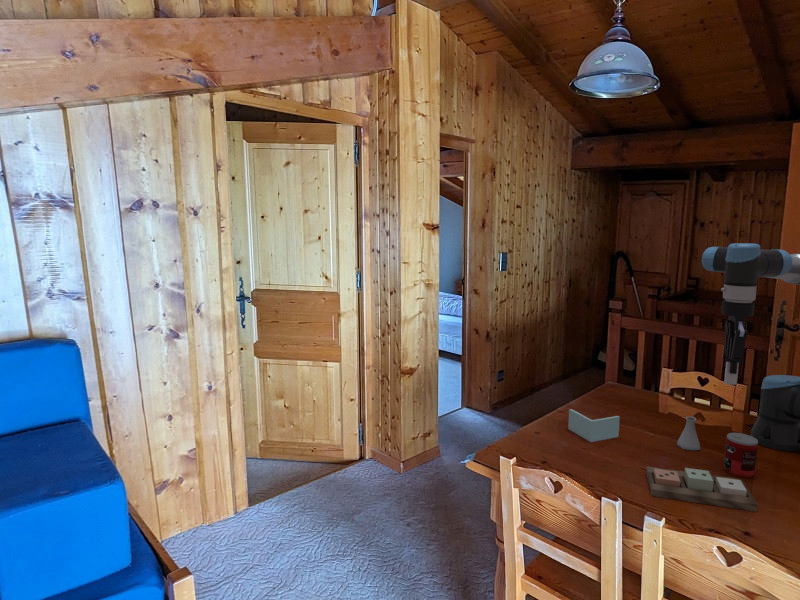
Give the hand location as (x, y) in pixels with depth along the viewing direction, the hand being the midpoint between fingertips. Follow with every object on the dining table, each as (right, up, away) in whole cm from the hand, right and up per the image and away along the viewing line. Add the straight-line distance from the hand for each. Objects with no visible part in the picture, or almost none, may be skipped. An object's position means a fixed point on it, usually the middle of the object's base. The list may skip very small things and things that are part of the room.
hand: (730, 383), depth 145 cm
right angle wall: (-23, -25, +41) cm, 53 cm away
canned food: (+10, -29, +12) cm, 33 cm away
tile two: (-8, -29, +1) cm, 30 cm away
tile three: (-16, -30, +4) cm, 34 cm away
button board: (-8, -31, +2) cm, 32 cm away
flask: (+5, -26, +30) cm, 40 cm away
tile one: (-1, -31, -1) cm, 31 cm away
